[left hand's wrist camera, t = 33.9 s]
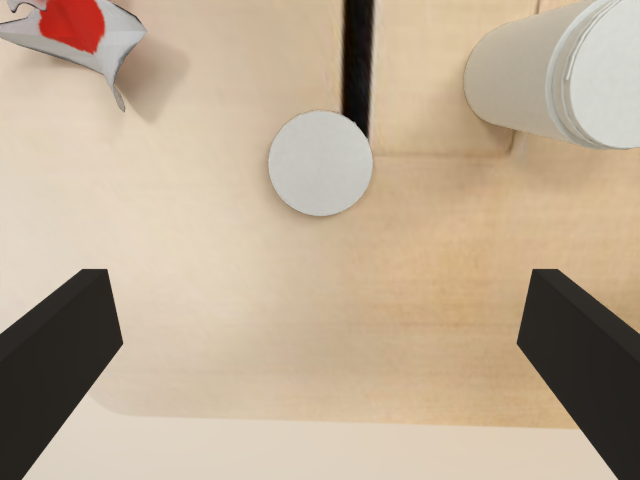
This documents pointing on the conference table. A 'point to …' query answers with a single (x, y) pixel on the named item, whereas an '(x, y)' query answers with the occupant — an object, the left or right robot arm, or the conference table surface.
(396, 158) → the conference table surface
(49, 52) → the fish
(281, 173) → the lid
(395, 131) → the conference table surface
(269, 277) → the conference table surface
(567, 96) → the jar
